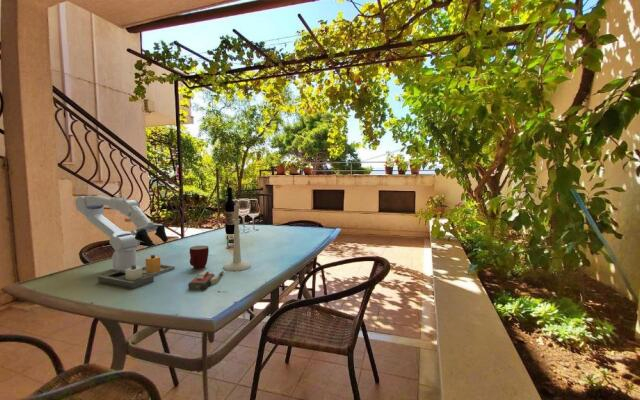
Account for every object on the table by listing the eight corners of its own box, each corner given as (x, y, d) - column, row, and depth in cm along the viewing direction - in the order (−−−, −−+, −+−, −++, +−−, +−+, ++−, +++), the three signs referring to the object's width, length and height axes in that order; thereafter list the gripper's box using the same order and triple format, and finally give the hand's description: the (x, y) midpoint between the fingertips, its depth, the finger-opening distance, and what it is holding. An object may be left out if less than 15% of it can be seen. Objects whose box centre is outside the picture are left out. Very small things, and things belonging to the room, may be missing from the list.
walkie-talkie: (209, 291, 112) (225, 274, 132) (209, 280, 112) (225, 264, 132) (186, 291, 112) (205, 274, 132) (185, 280, 112) (205, 264, 131)
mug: (201, 273, 132) (201, 251, 131) (184, 272, 133) (183, 250, 132) (211, 266, 143) (211, 245, 142) (195, 265, 143) (194, 245, 142)
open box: (98, 283, 118) (98, 276, 118) (120, 276, 126) (120, 269, 126) (132, 290, 111) (132, 282, 111) (153, 282, 120) (153, 275, 119)
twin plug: (125, 284, 116) (125, 266, 116) (135, 281, 120) (134, 263, 119) (133, 286, 115) (132, 267, 114) (142, 282, 118) (142, 264, 118)
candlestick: (256, 265, 145) (256, 203, 143) (238, 272, 133) (237, 205, 131) (236, 261, 150) (235, 202, 148) (217, 268, 139) (215, 204, 137)
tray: (131, 274, 129) (130, 270, 129) (155, 267, 140) (155, 263, 140) (151, 278, 125) (151, 274, 125) (174, 270, 136) (174, 266, 136)
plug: (146, 271, 131) (145, 255, 131) (154, 269, 135) (153, 253, 135) (152, 273, 130) (152, 256, 129) (160, 270, 134) (160, 254, 133)
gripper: (129, 216, 124) (148, 240, 122) (159, 212, 138) (176, 233, 135) (122, 228, 126) (140, 251, 124) (152, 222, 140) (169, 243, 137)
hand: (159, 242), depth 130 cm, fingers open, 7 cm apart
